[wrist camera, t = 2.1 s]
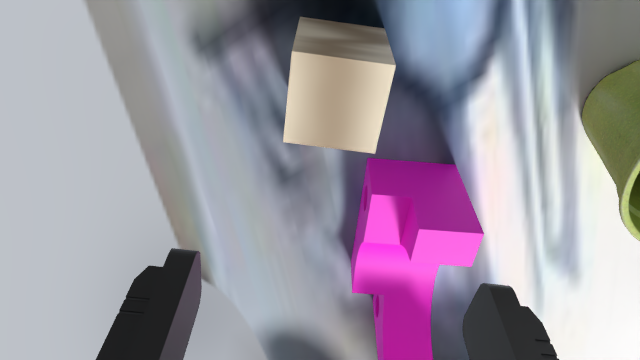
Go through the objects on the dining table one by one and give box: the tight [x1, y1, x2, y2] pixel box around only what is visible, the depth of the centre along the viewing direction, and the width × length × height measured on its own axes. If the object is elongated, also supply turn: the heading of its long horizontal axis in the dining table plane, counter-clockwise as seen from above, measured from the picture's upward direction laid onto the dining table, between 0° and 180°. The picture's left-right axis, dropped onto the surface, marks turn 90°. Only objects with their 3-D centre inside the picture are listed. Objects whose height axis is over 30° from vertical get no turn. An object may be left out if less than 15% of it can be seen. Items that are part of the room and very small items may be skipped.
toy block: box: [351, 158, 484, 360], centre depth 33 cm, size 15×6×8 cm, turn 176°
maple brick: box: [283, 17, 396, 154], centre depth 25 cm, size 5×5×6 cm
